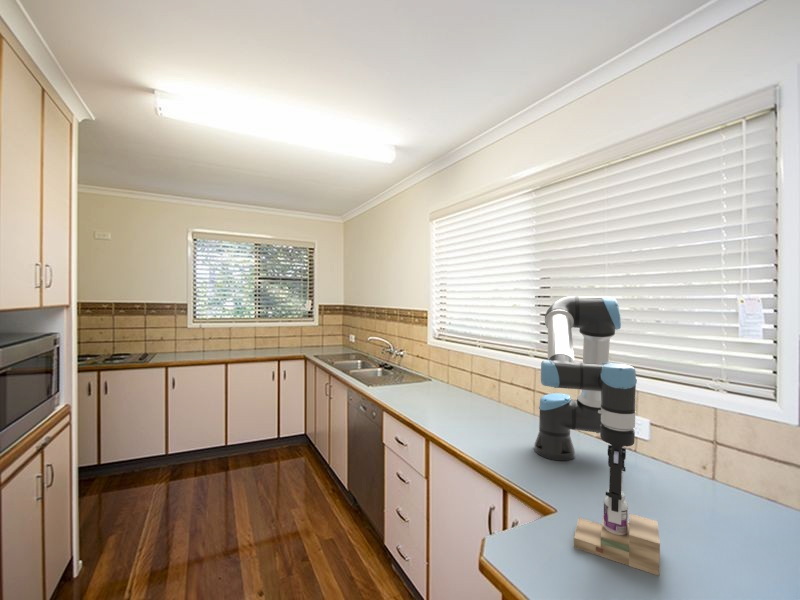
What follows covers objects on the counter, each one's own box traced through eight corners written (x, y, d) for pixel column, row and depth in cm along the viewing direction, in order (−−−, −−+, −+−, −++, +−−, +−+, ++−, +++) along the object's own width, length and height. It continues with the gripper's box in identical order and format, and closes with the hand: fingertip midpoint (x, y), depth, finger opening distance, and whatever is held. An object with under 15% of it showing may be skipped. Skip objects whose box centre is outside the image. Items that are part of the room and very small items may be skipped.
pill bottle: (605, 520, 99) (606, 484, 99) (629, 528, 95) (629, 491, 95) (601, 530, 95) (602, 492, 94) (625, 539, 91) (626, 500, 91)
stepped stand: (578, 526, 104) (578, 499, 104) (656, 550, 95) (657, 521, 94) (573, 548, 95) (574, 519, 95) (659, 576, 86) (660, 544, 86)
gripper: (603, 409, 107) (602, 481, 108) (596, 440, 86) (595, 530, 87) (634, 413, 103) (632, 488, 104) (635, 447, 82) (633, 541, 83)
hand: (615, 507), depth 95 cm, fingers open, 13 cm apart
